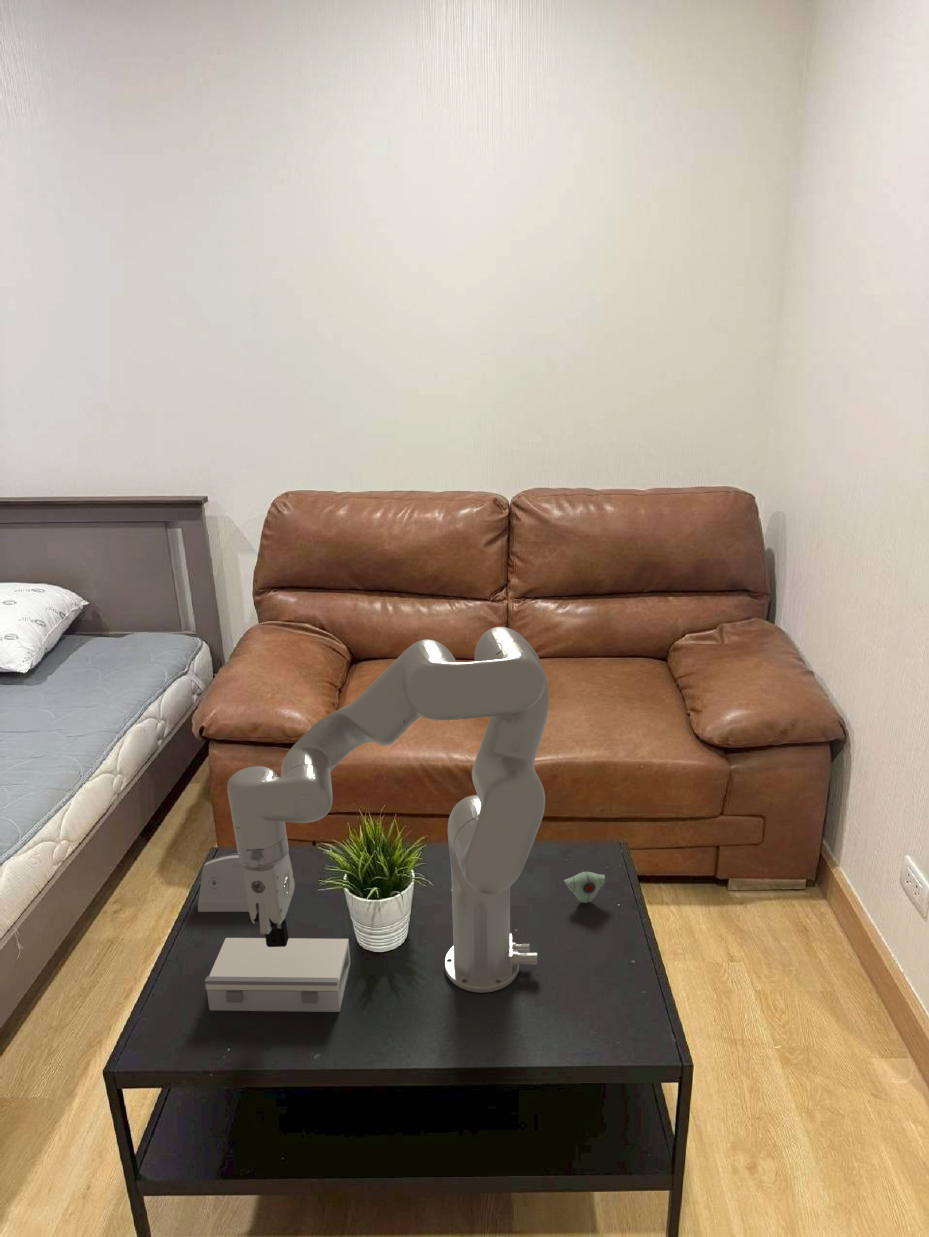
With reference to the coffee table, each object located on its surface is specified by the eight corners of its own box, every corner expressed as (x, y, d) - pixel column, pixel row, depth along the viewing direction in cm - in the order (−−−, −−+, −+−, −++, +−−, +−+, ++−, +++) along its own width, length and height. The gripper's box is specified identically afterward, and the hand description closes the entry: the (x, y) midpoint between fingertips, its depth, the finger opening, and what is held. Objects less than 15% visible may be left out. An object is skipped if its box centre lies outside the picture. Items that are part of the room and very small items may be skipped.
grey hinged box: (350, 963, 153) (349, 944, 152) (338, 1015, 142) (337, 995, 141) (229, 962, 154) (226, 943, 153) (208, 1014, 143) (205, 994, 141)
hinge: (195, 911, 167) (195, 858, 167) (203, 903, 171) (203, 851, 171) (285, 911, 166) (284, 857, 166) (290, 903, 171) (290, 851, 171)
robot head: (602, 893, 169) (604, 863, 167) (609, 907, 166) (611, 876, 163) (561, 898, 168) (562, 868, 166) (567, 912, 164) (568, 881, 162)
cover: (348, 943, 152) (348, 935, 151) (337, 991, 141) (336, 982, 140) (226, 942, 152) (225, 934, 152) (206, 989, 142) (204, 980, 141)
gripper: (275, 875, 129) (291, 977, 135) (297, 817, 143) (310, 912, 149) (224, 876, 129) (242, 978, 136) (251, 818, 143) (266, 913, 150)
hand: (277, 943), depth 142 cm, fingers closed
